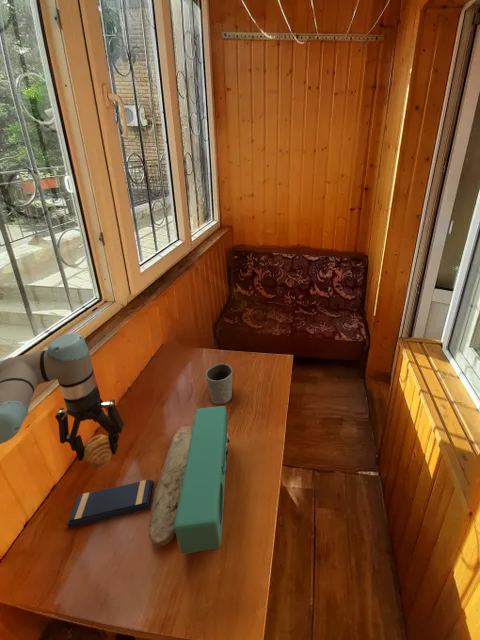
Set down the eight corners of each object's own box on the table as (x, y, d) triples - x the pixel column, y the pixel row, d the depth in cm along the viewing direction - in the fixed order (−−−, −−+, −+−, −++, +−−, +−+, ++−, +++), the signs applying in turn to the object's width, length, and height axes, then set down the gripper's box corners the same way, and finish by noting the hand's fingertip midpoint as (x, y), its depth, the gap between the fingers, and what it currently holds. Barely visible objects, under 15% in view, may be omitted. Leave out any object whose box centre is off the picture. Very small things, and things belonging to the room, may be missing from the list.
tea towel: (68, 528, 82) (66, 522, 81) (79, 500, 89) (76, 494, 88) (149, 509, 87) (147, 503, 86) (153, 484, 93) (152, 477, 92)
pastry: (118, 459, 87) (115, 450, 85) (90, 476, 83) (87, 466, 81) (108, 437, 93) (105, 428, 92) (82, 452, 89) (79, 442, 88)
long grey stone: (202, 431, 111) (173, 435, 110) (199, 419, 110) (171, 423, 109) (183, 545, 78) (142, 553, 77) (179, 530, 77) (137, 538, 76)
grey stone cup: (207, 406, 120) (204, 382, 116) (209, 387, 129) (207, 364, 125) (233, 404, 121) (231, 379, 117) (234, 385, 131) (232, 362, 127)
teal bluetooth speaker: (224, 561, 76) (220, 521, 71) (180, 568, 74) (172, 528, 69) (231, 437, 107) (228, 404, 102) (200, 441, 106) (195, 407, 101)
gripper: (127, 373, 86) (140, 434, 94) (42, 386, 82) (63, 448, 90) (119, 393, 79) (135, 457, 87) (26, 408, 75) (51, 474, 83)
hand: (98, 453), depth 88 cm, fingers closed on pastry, 8 cm apart
